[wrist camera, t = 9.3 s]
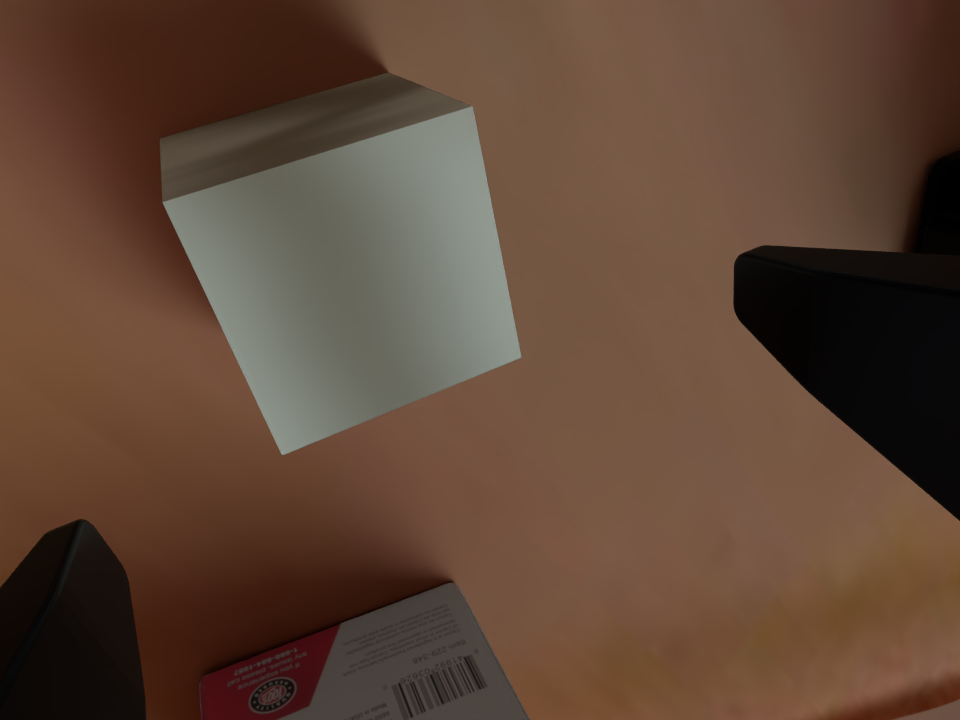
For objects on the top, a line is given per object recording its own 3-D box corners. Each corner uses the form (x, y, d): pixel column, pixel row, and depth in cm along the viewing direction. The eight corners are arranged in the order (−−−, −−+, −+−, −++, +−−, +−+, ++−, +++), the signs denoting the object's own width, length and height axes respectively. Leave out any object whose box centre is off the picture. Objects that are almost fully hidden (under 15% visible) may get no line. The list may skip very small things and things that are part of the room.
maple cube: (387, 71, 15) (472, 106, 11) (438, 271, 18) (521, 357, 14) (159, 137, 14) (161, 201, 10) (251, 340, 17) (282, 455, 13)
